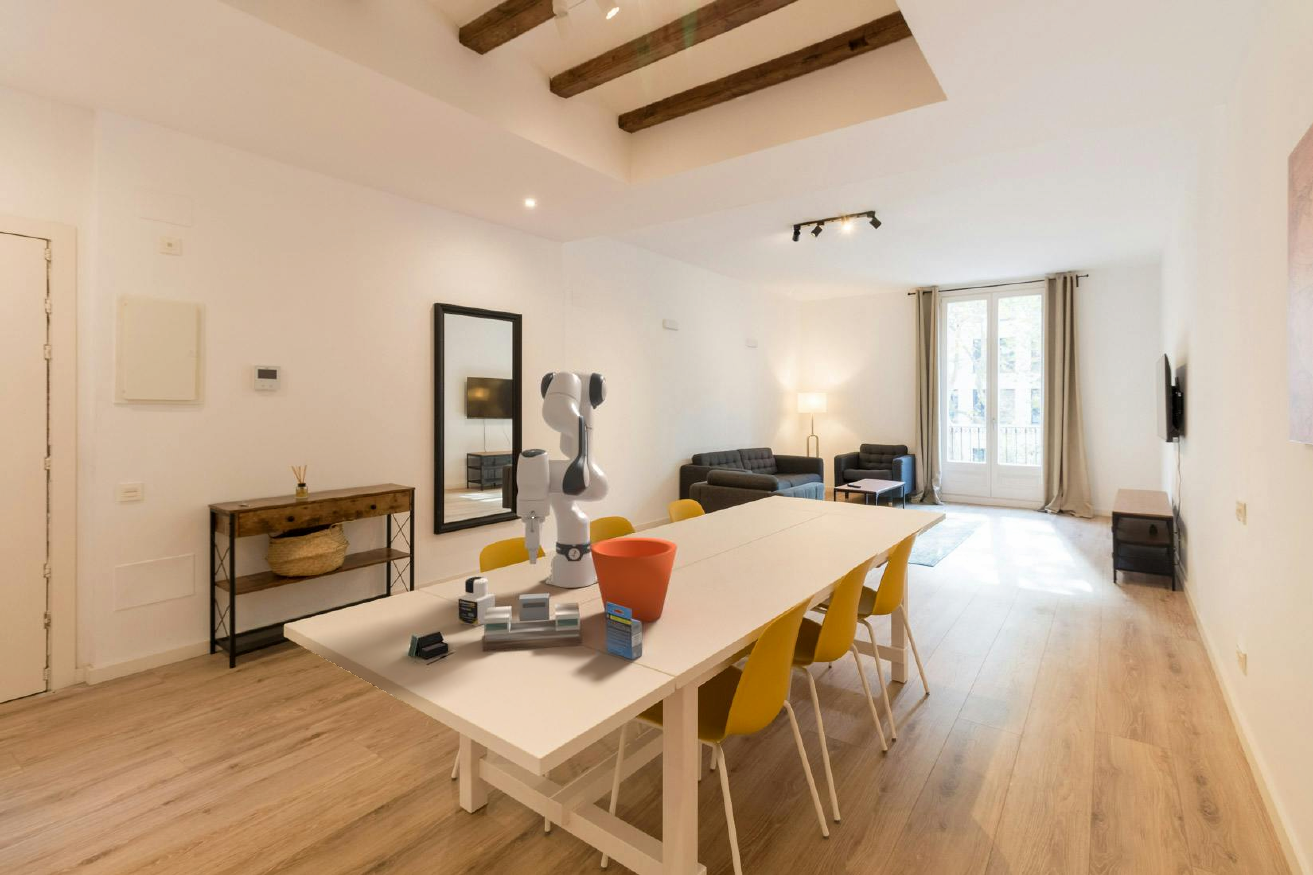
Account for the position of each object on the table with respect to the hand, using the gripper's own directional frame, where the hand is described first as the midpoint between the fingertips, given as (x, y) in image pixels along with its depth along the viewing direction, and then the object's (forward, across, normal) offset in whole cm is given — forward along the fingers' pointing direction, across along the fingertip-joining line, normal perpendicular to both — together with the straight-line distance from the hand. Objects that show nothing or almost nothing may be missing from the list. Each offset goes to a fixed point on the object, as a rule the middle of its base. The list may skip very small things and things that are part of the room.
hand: (533, 559), depth 169 cm
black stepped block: (+19, -16, +24) cm, 34 cm away
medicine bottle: (+18, +6, +16) cm, 25 cm away
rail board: (+18, -11, 0) cm, 21 cm away
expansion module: (+18, 0, 0) cm, 18 cm away
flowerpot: (+18, +4, -28) cm, 34 cm away
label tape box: (+18, -24, -22) cm, 37 cm away
